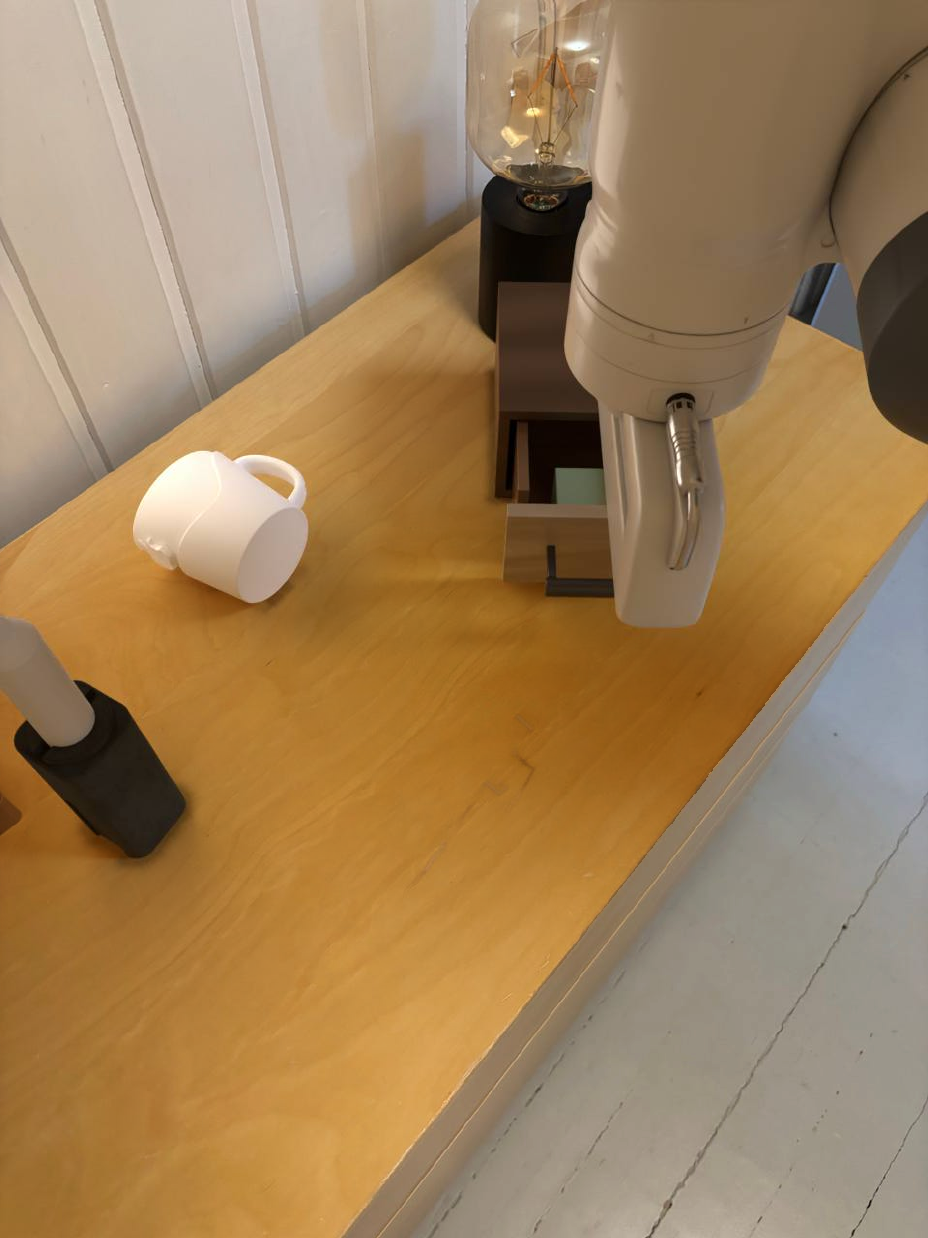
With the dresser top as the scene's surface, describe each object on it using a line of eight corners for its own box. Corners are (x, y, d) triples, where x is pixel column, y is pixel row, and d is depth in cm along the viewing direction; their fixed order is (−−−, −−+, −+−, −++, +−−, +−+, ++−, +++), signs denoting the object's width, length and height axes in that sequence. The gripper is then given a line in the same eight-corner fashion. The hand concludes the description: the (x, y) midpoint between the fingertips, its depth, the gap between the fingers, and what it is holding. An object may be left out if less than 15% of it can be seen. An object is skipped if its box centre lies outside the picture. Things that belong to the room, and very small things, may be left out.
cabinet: (649, 500, 77) (672, 413, 69) (494, 497, 77) (498, 410, 69) (635, 374, 85) (654, 283, 77) (494, 372, 85) (498, 281, 77)
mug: (241, 630, 70) (219, 567, 63) (149, 574, 73) (118, 508, 66) (339, 525, 75) (328, 457, 69) (250, 476, 78) (231, 406, 71)
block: (600, 502, 74) (607, 468, 71) (604, 542, 72) (611, 509, 69) (550, 501, 74) (554, 467, 71) (552, 541, 72) (556, 508, 69)
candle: (193, 800, 63) (59, 586, 42) (141, 865, 60) (-28, 672, 39) (134, 764, 64) (-24, 539, 43) (82, 826, 62) (-112, 619, 41)
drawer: (660, 631, 69) (681, 568, 62) (502, 628, 69) (507, 565, 62) (639, 452, 79) (656, 381, 72) (501, 449, 79) (506, 378, 72)
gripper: (788, 513, 34) (704, 695, 45) (715, 182, 45) (663, 396, 57) (614, 510, 34) (574, 692, 46) (584, 180, 45) (558, 394, 57)
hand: (623, 526), depth 51 cm, fingers closed
